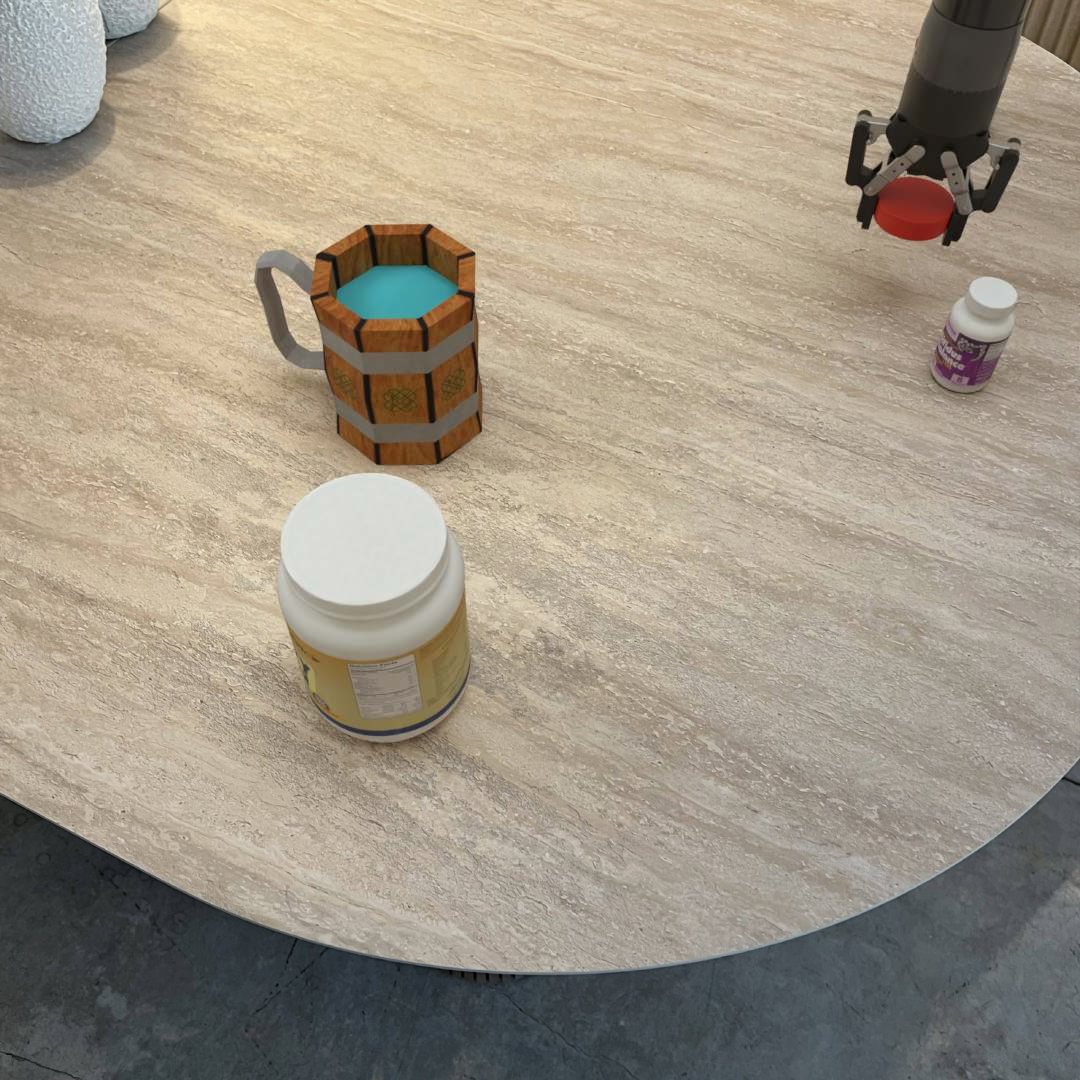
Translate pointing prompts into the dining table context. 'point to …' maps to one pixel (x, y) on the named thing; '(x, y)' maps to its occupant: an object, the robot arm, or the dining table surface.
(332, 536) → the supplement tub
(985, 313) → the pill bottle
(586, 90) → the dining table surface
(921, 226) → the lid
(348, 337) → the mug
